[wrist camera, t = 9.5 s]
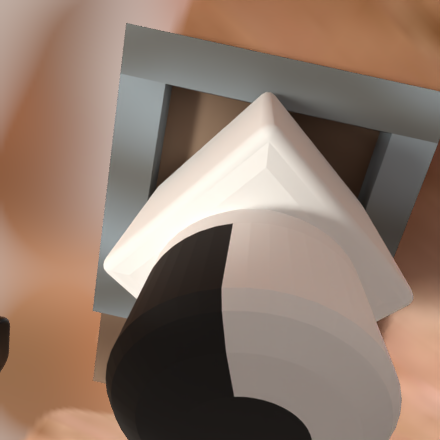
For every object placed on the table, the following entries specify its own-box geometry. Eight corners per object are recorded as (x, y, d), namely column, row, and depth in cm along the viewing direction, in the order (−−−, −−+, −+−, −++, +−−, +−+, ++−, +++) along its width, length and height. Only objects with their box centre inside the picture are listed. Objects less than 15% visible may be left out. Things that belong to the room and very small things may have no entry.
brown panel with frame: (311, 423, 23) (317, 453, 21) (96, 373, 23) (82, 399, 21) (431, 97, 17) (456, 95, 15) (140, 33, 17) (126, 23, 15)
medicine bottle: (248, 282, 20) (228, 565, 9) (155, 188, 18) (-8, 405, 7) (364, 206, 17) (527, 482, 6) (268, 86, 15) (276, 195, 5)
